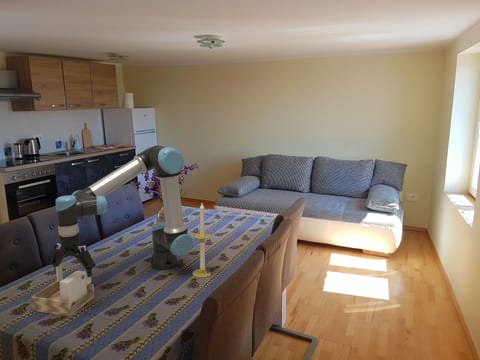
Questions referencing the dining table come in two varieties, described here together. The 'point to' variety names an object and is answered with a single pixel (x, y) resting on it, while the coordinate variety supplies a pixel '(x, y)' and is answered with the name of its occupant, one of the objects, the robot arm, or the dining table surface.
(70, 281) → the plain off-white rectangular block
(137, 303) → the dining table surface
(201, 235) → the candle
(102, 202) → the robot arm
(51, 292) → the cabinet carcass
